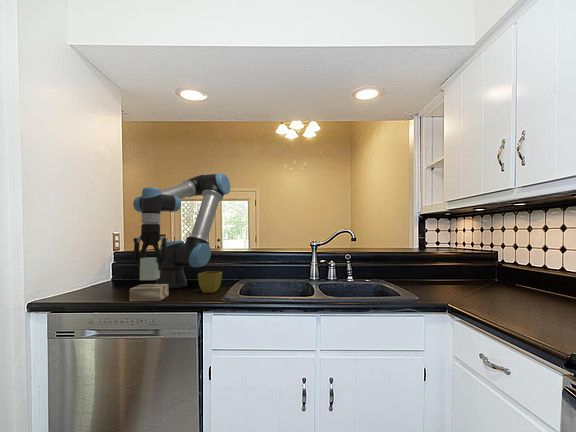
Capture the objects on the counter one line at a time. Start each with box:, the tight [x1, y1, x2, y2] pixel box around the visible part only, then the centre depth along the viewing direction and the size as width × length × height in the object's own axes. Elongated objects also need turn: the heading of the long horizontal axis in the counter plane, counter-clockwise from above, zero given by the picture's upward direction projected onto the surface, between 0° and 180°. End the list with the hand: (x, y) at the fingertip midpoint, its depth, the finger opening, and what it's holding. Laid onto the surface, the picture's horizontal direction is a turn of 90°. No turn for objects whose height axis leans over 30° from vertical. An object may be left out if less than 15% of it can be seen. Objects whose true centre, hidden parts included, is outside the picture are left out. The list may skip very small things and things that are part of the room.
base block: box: [128, 283, 170, 302], centre depth 144 cm, size 12×12×5 cm
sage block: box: [139, 256, 159, 281], centre depth 144 cm, size 6×6×9 cm
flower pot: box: [197, 271, 223, 294], centre depth 158 cm, size 9×9×9 cm
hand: (149, 278), depth 144 cm, fingers closed on sage block, 6 cm apart
